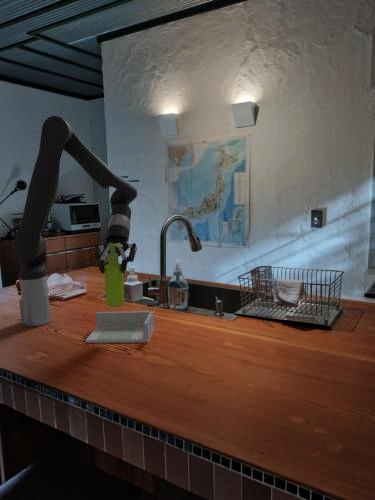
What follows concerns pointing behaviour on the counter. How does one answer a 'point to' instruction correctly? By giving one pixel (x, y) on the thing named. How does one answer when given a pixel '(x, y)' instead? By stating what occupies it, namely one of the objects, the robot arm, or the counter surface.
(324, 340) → the counter surface
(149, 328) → the grey corner tray
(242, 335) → the counter surface
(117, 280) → the soap dispenser
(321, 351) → the counter surface
